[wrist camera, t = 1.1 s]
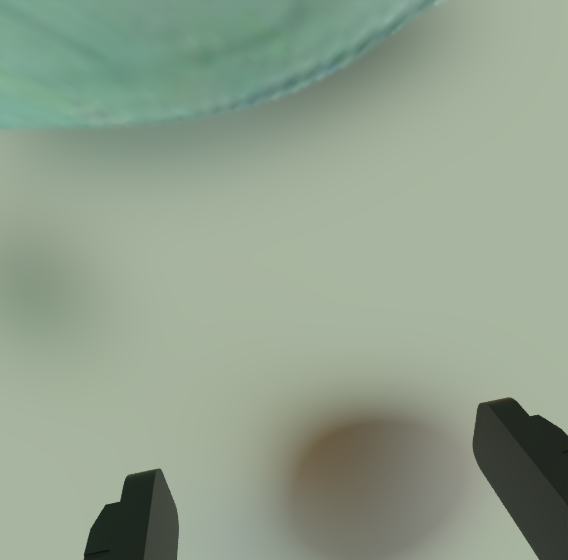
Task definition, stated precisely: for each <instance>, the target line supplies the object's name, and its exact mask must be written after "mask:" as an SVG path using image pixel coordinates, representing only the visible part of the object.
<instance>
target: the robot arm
mask: <svg viewBox="0 0 568 560" xmlns="http://www.w3.org/2000/svg"><path fill="white" fill-rule="evenodd" d="M473 452H474V455H475V459H476V461H477V463H478V466H479V467H480V469H481V471H482V472H483V474H484V475H485V477H486V478H487V480H488V482H489V483H490V485H491V486H492V488H493V489H494V491H495V492H496V494H497V495H498V497H499V498H500V500H501V502H502V503H503V505H504V506H505V508H506V509H507V511H508V512H509V514H510V515H511V517H512V518H513V520H514V521H515V523H516V524H517V526H518V527H519V529H520V531H521V532H522V534H523V535H524V537H525V538H526V540H527V541H528V543H529V544H530V546H531V548H532V549H533V551H534V552H535V554H536V555H537V557H538V558H539V560H568V435H567V434H565V432H564V431H563V430H562V429H560V428H559V427H557V426H556V425H554V424H552V423H551V422H549V421H548V420H546V419H545V418H543V417H541V416H540V415H534V416H529V415H528V414H527V413H526V411H525V410H524V409H523V408H522V407H521V406H520V405H519V403H518V402H517V401H515V400H514V399H512V398H503V399H499V400H494V401H489V402H484V403H480V404H479V406H478V409H477V415H476V423H475V430H474V437H473ZM178 535H179V523H178V514H177V509H176V506H175V503H174V500H173V498H172V495H171V492H170V490H169V488H168V485H167V483H166V480H165V477H164V475H163V472H162V470H161V469H154V470H150V471H145V472H140V473H135V474H130V475H128V476H127V477H126V479H125V481H124V486H123V490H122V495H121V500H120V502H116V503H112V504H107V505H105V507H104V508H103V510H102V511H101V513H100V515H99V516H98V518H97V519H96V521H95V523H94V524H93V526H92V528H91V529H90V533H89V537H88V541H87V545H86V549H85V553H84V560H177V549H178Z"/></svg>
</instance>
